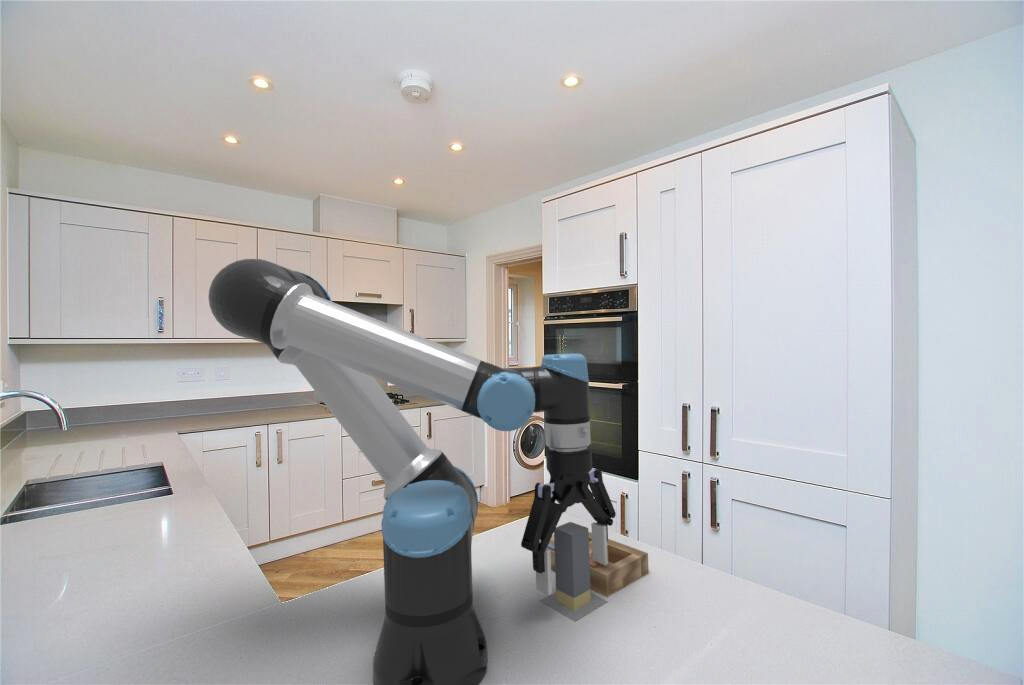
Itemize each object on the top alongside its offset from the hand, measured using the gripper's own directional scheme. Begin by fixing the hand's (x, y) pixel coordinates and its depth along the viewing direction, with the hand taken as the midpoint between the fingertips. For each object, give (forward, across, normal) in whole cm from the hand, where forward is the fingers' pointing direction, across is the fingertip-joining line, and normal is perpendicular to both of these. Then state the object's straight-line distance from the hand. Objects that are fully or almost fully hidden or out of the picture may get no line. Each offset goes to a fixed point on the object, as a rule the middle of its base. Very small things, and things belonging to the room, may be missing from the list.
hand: (573, 576), depth 77 cm
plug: (+4, 0, 0) cm, 4 cm away
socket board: (+4, +11, +6) cm, 13 cm away
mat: (+4, 0, 0) cm, 5 cm away
